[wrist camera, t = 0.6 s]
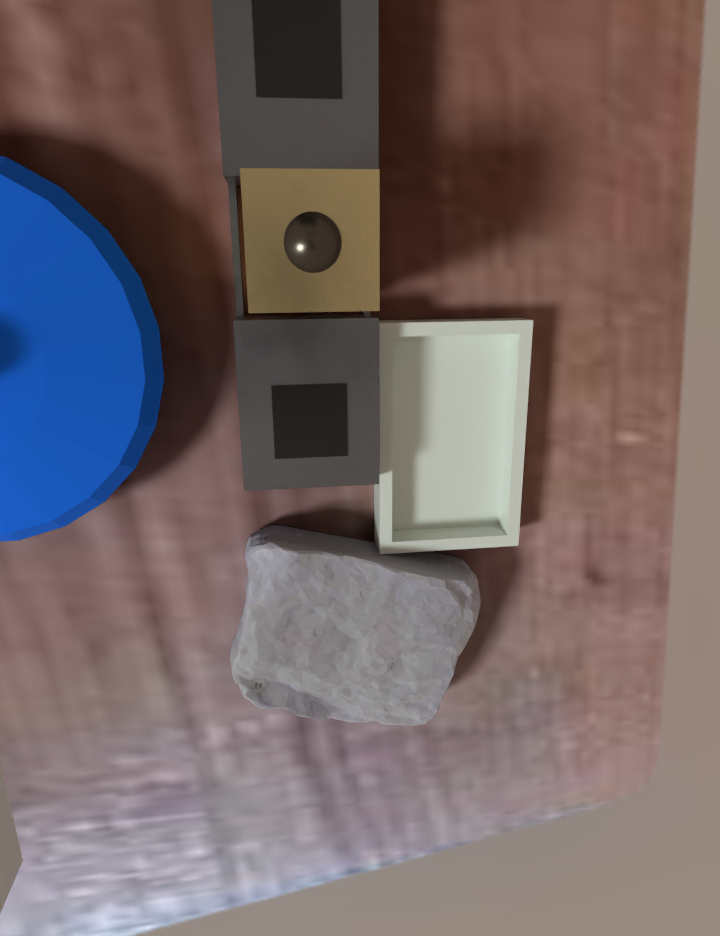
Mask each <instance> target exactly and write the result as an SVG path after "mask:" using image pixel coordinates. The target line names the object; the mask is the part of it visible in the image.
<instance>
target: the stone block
mask: <svg viewBox="0 0 720 936" xmlns="http://www.w3.org/2000/svg"><path fill="white" fill-rule="evenodd" d="M245 560H246V564H247V567H248V580H247V586H246V602H245V607H244V611H243V615H242V617H241V619H240V623H239V627H238V630H237V634H236V636H235V638H234V641H233V643H232V647H231V653H230V661H231V666H232V675H233V678H234V681H235V683H236V684H238V685H239V687H240V689H241V691H242V695H243V696H244V697H245V698H246V699H248V700H250V701H251V702H252V703H254V704H255V705H256V706H257V707H258V708H262V709H284V710H288V711H290V712H291V713H293V714H295V715H297V716H302V717H307V718H313V719H330V718H335V719H337V720H343V721H347V722H359V723H367V722H372V721H376V722H379V723H381V724H382V725H413V726H416V725H422V724H424V723H426V722H427V720H430V719H431V718H432V717H433V716H434V714H435V713H436V712H437V711H438V708H439V705H440V701H441V699H442V698H443V696H444V694H445V692H446V690H447V688H448V686H449V684H450V682H451V679H452V677H453V675H454V671H455V667H456V663H457V660H458V657H459V655H460V654H461V652H462V651H463V649H464V648H465V646H466V644H467V642H468V640H469V638H470V636H471V635H472V633H473V630H474V628H475V625H476V622H477V619H478V614H479V610H480V604H481V599H480V592H479V586H478V580H477V577H476V574H475V573H474V572H473V571H471V570H470V568H469V566H468V565H467V564H466V563H465V562H464V561H463V560H462V559H460V558H458V557H455V556H450V555H445V554H441V553H435V552H429V551H425V552H409V553H393V554H379V551H378V548H377V545H376V543H375V542H370V541H365V540H359V539H354V538H349V537H343V536H337V535H328V534H324V533H319V532H313V531H309V530H304V529H298V528H292V527H287V526H282V525H270V526H267V527H265V528H263V529H261V530H259V531H257V532H255V533H253V534H252V535H251V536H250V538H249V539H248V542H247V543H246V549H245Z"/></svg>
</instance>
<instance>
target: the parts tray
mask: <svg viewBox="0 0 720 936" xmlns="http://www.w3.org/2000/svg"><path fill="white" fill-rule="evenodd" d="M532 333H533V320H530V319H524V318H474V319H422V320H379V484H374V540H375V543H376V545H377V548H378V551H379V554H393V553H409V552H425V551H441V550H457V549H473V548H489V547H505V546H518V543H519V528H520V513H521V498H522V483H523V468H524V453H525V438H526V423H527V408H528V393H529V378H530V363H531V348H532Z"/></svg>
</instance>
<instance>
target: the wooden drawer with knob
mask: <svg viewBox="0 0 720 936" xmlns="http://www.w3.org/2000/svg"><path fill="white" fill-rule="evenodd" d="M240 179H241V196H242V213H243V230H244V246H245V263H246V280H247V297H248V313H294V312H351V311H380V169H283V168H240Z"/></svg>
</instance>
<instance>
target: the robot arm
mask: <svg viewBox="0 0 720 936" xmlns="http://www.w3.org/2000/svg"><path fill="white" fill-rule="evenodd" d="M22 861H23V859H22V855H21V850H20V846H19V841H18V837H17V832H16V828H15V824H14V819H13V815H12V810H11V806H10V801H9V797H8V793H7V788H6V784H5V779H4V775H3V770H2V766H1V761H0V913H1V910H2V908H3V906H4V903H5V901H6V899H7V896H8V894H9V891H10V889H11V887H12V884H13V882H14V880H15V877H16V875H17V873H18V870H19V868H20V866H21V863H22Z"/></svg>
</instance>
